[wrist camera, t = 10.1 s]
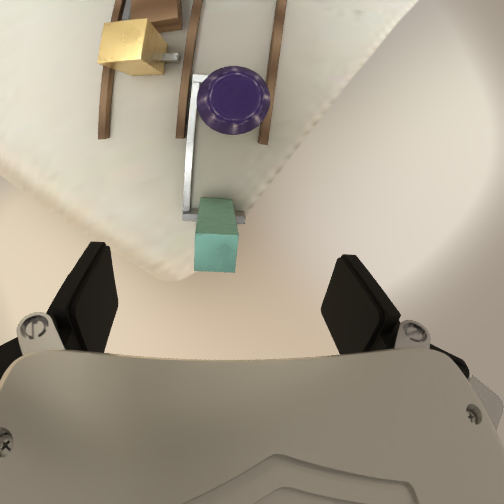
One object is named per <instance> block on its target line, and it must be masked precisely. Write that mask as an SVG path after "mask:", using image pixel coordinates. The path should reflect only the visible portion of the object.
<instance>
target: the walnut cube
mask: <svg viewBox="0 0 504 504" xmlns="http://www.w3.org/2000/svg"><path fill="white" fill-rule="evenodd" d="M145 18H148V20H149V21H150V22H151V23H152V25H153V26H154V27H155V29H156V30H157V31H158V33H163V32H169V31H175V30H182V11H181V0H131V20H134V19H145Z"/></svg>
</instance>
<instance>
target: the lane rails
mask: <svg viewBox="0 0 504 504" xmlns="http://www.w3.org/2000/svg"><path fill="white" fill-rule="evenodd" d="M202 2H203V0H194V1H193V6H192V12H191V17H190V23H189V29H188V35H187V41H186V47H185V54H184V61H183V69H182V77H181V86H180V95H179V105H178V115H177V127H176V138H182V139H183V138H185V130H186V118H187V108H188V98H189V89H190V80H191V72H192V64H193V57H194V50H195V43H196V37H197V31H198V25H199V19H200V13H201V8H202ZM286 2H287V0H277V3H276V10H275V17H274V24H273V32H272V39H271V46H270V54H269V61H268V69H267V77H266V85H267V87H268V89H269V93H270V107H269V110H268V113H267V115H266V117H265V118H264V120H263V121H262V122H261V123H260V131H259V139H258V143H259V144H264V145H268V139H269V131H270V124H271V116H272V108H273V101H274V93H275V86H276V78H277V71H278V63H279V55H280V48H281V40H282V33H283V25H284V17H285V10H286ZM125 3H126V0H116V1H115V5H114V9H113V14H112V18H111V22H117V21H122V17H123V12H124V8H125ZM114 70H115V69H112V68H109V67H107V66H104V65H103V73H102V82H101V93H100V106H99V124H98V139H106V138H109V137H110V114H111V100H112V88H113V79H114Z"/></svg>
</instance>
